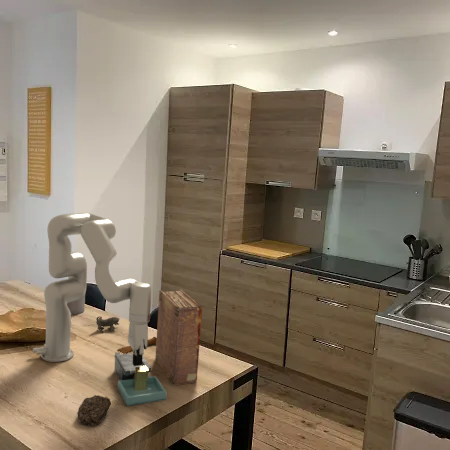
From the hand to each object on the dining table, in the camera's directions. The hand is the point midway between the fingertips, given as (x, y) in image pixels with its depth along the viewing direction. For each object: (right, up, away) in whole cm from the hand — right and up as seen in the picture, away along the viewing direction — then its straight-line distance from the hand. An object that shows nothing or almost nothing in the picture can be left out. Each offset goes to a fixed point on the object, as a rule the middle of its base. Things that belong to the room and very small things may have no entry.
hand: (137, 364), depth 174 cm
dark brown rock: (-10, -10, -23) cm, 27 cm away
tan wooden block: (+1, -5, -2) cm, 6 cm away
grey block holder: (-3, -7, +6) cm, 10 cm away
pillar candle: (-47, +6, +76) cm, 90 cm away
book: (+12, -7, +15) cm, 21 cm away
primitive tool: (-6, -3, +35) cm, 35 cm away
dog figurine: (-24, +1, +53) cm, 58 cm away
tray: (+3, -9, -6) cm, 11 cm away
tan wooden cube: (+2, -1, -4) cm, 4 cm away
